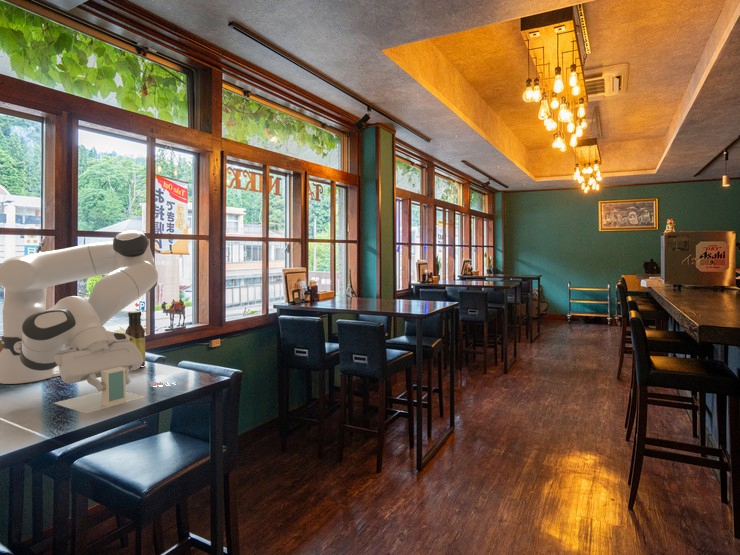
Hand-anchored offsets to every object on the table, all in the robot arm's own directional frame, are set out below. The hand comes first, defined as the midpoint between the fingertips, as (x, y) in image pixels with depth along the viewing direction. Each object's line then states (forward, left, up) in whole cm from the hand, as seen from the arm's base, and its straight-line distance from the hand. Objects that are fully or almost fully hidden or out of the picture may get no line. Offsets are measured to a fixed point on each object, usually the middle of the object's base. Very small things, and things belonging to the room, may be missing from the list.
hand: (115, 386), depth 121 cm
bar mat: (-6, -4, -5) cm, 8 cm away
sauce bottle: (-45, +3, -5) cm, 45 cm away
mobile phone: (-21, +11, -5) cm, 24 cm away
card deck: (-1, 0, -4) cm, 4 cm away
